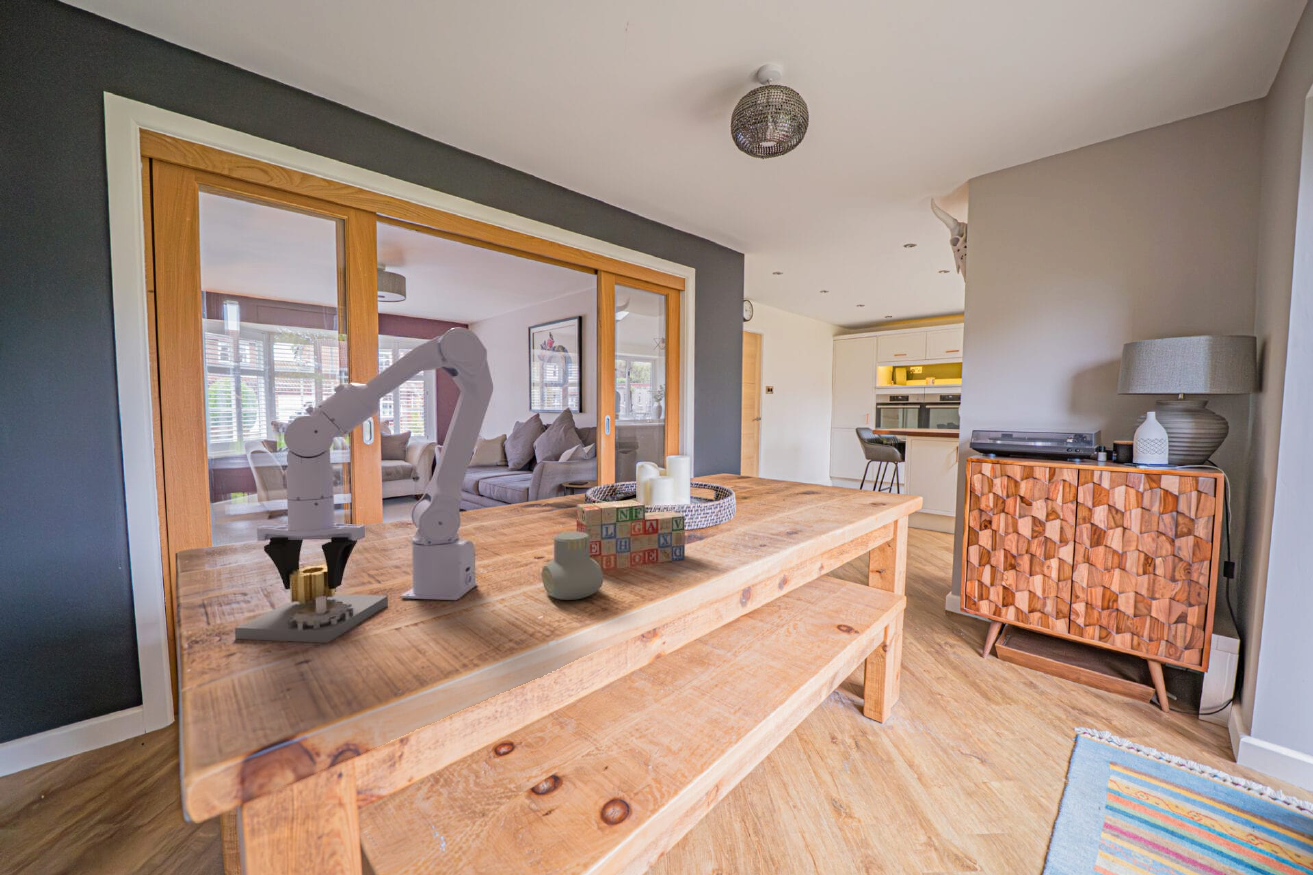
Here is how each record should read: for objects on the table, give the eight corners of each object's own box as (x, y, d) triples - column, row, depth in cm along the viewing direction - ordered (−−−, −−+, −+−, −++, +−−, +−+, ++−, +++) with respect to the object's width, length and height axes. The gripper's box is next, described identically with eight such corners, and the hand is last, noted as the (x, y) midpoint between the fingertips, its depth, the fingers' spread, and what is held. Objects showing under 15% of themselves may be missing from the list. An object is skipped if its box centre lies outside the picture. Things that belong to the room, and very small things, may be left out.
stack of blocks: (671, 552, 111) (672, 496, 110) (685, 560, 105) (685, 501, 105) (576, 564, 102) (576, 503, 101) (585, 573, 96) (585, 509, 96)
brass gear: (344, 589, 79) (343, 564, 79) (322, 603, 74) (321, 576, 73) (306, 589, 79) (305, 564, 79) (281, 603, 73) (280, 576, 73)
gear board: (387, 605, 79) (387, 576, 79) (327, 642, 66) (326, 609, 66) (309, 602, 80) (308, 574, 80) (235, 638, 67) (234, 605, 67)
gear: (365, 609, 74) (365, 602, 74) (327, 631, 66) (327, 624, 66) (316, 607, 75) (315, 600, 74) (273, 629, 67) (272, 621, 67)
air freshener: (539, 588, 88) (538, 531, 87) (584, 581, 92) (584, 526, 91) (557, 610, 78) (557, 546, 78) (607, 601, 82) (607, 540, 81)
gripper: (374, 492, 80) (376, 577, 80) (279, 492, 79) (282, 578, 80) (349, 500, 73) (351, 593, 73) (244, 500, 72) (248, 594, 73)
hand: (313, 587), depth 76 cm, fingers closed on brass gear, 6 cm apart
